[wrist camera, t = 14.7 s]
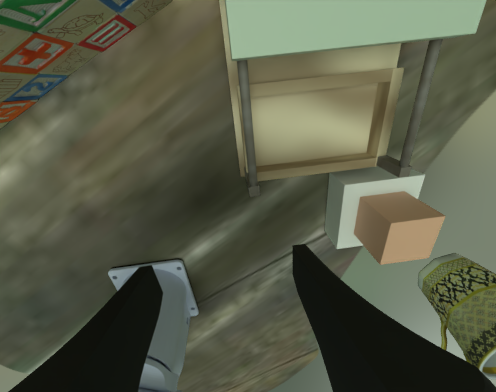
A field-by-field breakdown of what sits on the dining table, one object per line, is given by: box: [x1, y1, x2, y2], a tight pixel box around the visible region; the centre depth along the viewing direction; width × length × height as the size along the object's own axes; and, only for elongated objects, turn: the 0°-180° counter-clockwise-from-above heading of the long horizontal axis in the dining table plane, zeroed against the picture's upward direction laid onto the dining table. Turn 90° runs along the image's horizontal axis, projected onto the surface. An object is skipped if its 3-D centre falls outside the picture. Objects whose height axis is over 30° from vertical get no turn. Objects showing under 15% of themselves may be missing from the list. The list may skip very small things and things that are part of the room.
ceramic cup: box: [418, 253, 496, 379], centre depth 25 cm, size 13×10×10 cm
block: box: [354, 191, 445, 265], centre depth 18 cm, size 4×4×4 cm
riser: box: [324, 166, 425, 249], centre depth 21 cm, size 7×7×3 cm
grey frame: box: [219, 0, 443, 197], centre depth 15 cm, size 13×13×5 cm
